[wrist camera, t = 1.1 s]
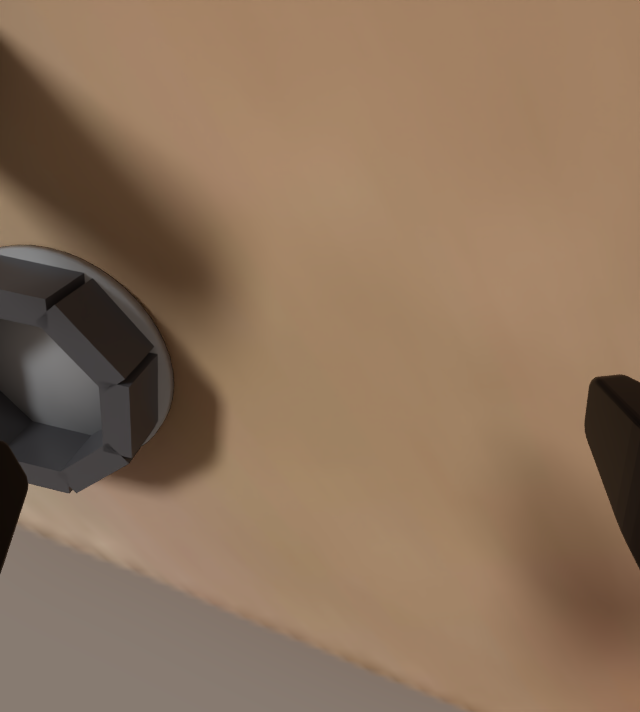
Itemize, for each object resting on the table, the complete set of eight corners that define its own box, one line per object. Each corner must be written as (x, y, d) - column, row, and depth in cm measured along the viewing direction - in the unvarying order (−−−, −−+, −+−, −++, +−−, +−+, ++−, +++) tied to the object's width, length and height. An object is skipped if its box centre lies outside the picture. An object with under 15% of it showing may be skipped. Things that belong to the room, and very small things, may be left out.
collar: (175, 274, 21) (139, 307, 18) (172, 473, 26) (145, 520, 24) (-76, 221, 22) (-143, 245, 19) (-28, 425, 27) (-76, 465, 25)
